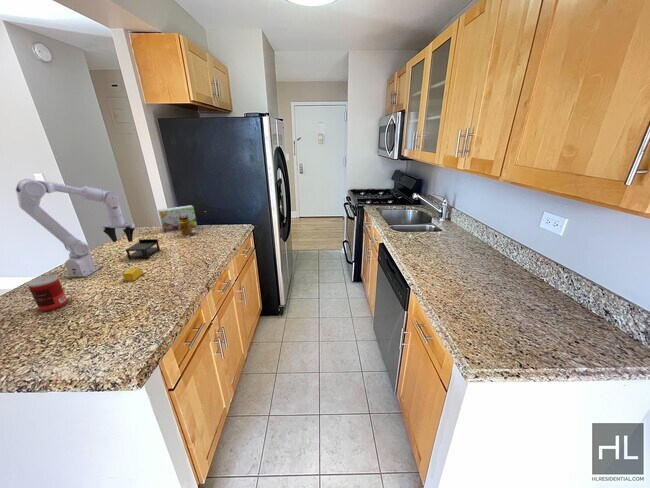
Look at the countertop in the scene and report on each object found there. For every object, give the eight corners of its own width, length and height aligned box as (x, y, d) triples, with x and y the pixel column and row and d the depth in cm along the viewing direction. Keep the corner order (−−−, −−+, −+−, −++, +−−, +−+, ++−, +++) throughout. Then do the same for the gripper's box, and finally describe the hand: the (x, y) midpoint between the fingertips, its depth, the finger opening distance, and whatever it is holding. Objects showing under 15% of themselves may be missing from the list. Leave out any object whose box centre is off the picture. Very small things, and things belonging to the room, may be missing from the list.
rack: (148, 259, 136) (144, 247, 133) (128, 259, 135) (124, 247, 133) (160, 250, 147) (157, 239, 145) (142, 250, 147) (139, 239, 144)
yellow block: (134, 280, 115) (131, 273, 114) (124, 280, 115) (122, 273, 113) (142, 274, 120) (140, 267, 119) (133, 274, 120) (131, 267, 119)
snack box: (164, 232, 175) (159, 211, 170) (162, 230, 179) (157, 209, 174) (197, 226, 189) (193, 206, 183) (194, 224, 192) (191, 204, 187)
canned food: (66, 297, 102) (55, 272, 98) (69, 304, 98) (58, 279, 94) (38, 306, 97) (25, 280, 93) (41, 314, 92) (28, 287, 88)
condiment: (179, 235, 170) (175, 218, 165) (189, 231, 177) (185, 214, 173) (187, 237, 168) (183, 219, 163) (197, 232, 175) (194, 215, 170)
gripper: (135, 213, 132) (142, 238, 137) (105, 213, 131) (113, 238, 136) (126, 217, 125) (133, 243, 130) (95, 217, 125) (103, 243, 130)
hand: (122, 241), depth 133 cm, fingers open, 7 cm apart
